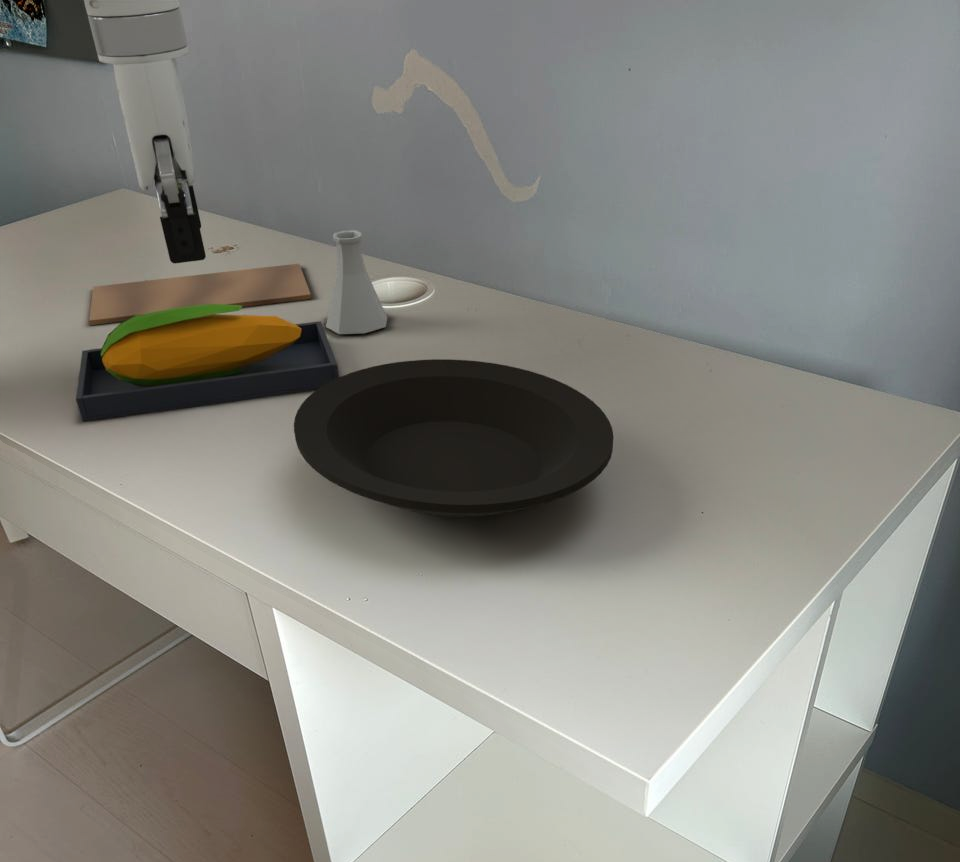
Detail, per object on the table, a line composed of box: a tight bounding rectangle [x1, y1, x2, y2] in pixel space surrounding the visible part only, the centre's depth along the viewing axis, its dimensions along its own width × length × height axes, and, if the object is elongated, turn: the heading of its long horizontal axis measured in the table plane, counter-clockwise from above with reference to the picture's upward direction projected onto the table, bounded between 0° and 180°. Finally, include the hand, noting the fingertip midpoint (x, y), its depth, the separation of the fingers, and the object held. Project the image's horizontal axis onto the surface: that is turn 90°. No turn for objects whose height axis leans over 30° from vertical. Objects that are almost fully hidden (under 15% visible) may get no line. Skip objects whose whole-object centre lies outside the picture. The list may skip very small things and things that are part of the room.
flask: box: [325, 229, 388, 335], centre depth 110 cm, size 7×7×10 cm
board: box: [88, 263, 312, 326], centre depth 122 cm, size 26×12×1 cm, turn 105°
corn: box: [101, 304, 302, 387], centre depth 100 cm, size 7×8×20 cm
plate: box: [293, 358, 614, 518], centre depth 82 cm, size 28×24×6 cm
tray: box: [75, 320, 340, 423], centre depth 102 cm, size 25×12×2 cm, turn 105°
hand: (187, 245), depth 94 cm, fingers open, 9 cm apart
